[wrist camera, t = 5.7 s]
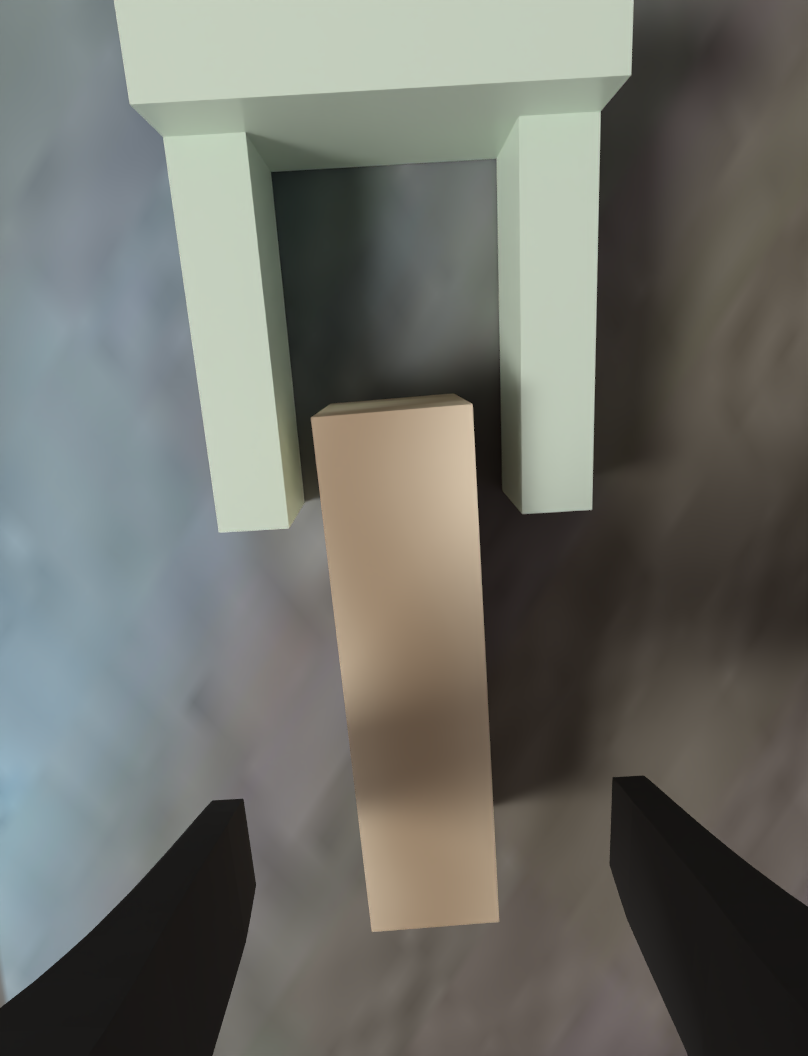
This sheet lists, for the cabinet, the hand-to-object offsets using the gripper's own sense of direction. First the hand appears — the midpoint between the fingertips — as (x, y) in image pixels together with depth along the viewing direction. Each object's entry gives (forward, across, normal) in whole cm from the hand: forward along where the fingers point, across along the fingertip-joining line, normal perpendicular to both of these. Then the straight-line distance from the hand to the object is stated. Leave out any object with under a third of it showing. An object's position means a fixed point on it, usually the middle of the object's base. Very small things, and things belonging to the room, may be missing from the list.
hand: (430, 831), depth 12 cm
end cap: (+5, 0, -10) cm, 11 cm away
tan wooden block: (+6, 0, -2) cm, 6 cm away
